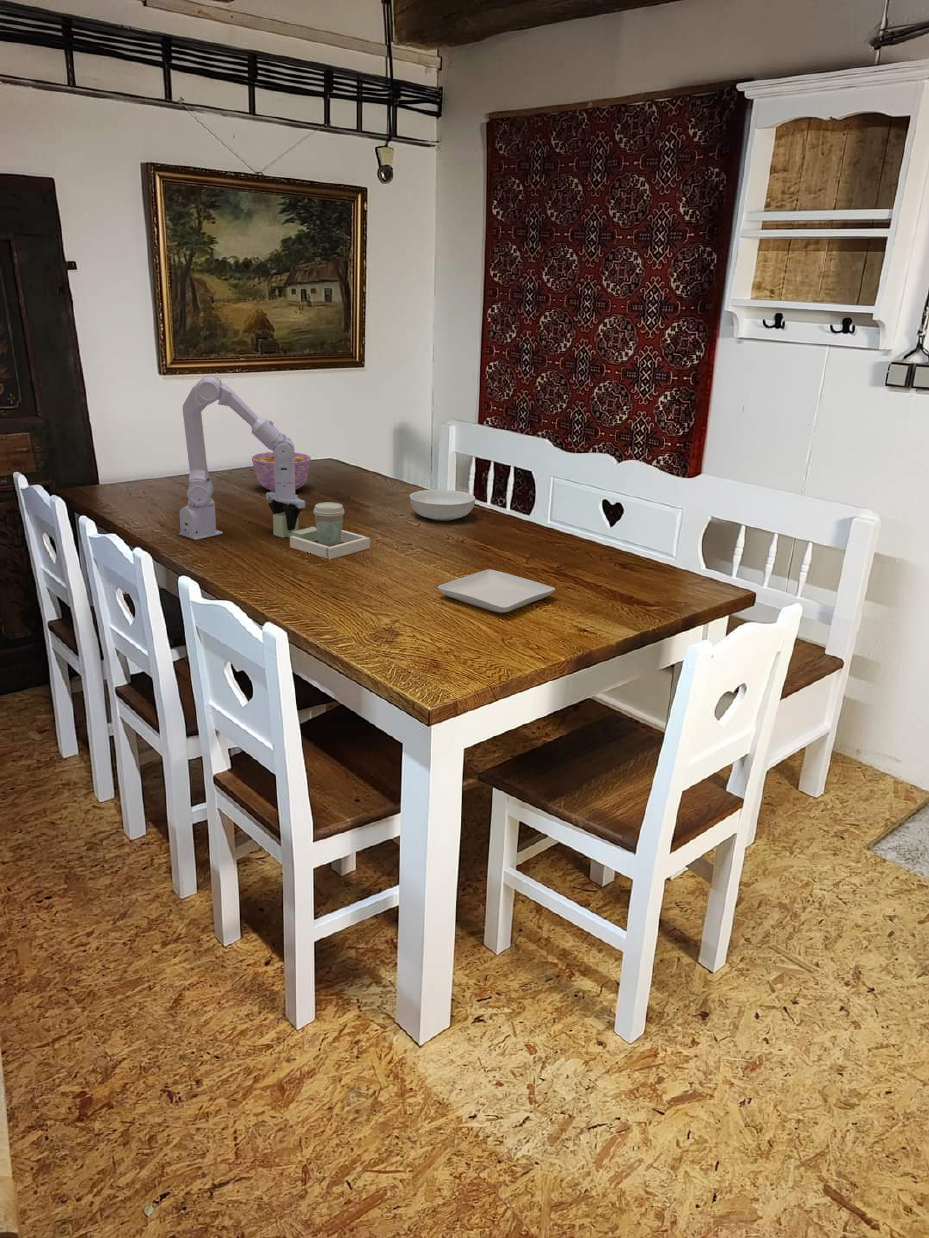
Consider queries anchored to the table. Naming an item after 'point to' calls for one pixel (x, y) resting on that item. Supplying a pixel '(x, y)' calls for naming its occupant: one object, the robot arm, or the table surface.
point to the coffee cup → (329, 523)
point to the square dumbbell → (282, 530)
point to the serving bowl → (442, 504)
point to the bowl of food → (266, 469)
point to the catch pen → (350, 546)
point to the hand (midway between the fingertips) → (286, 528)
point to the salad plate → (496, 590)
